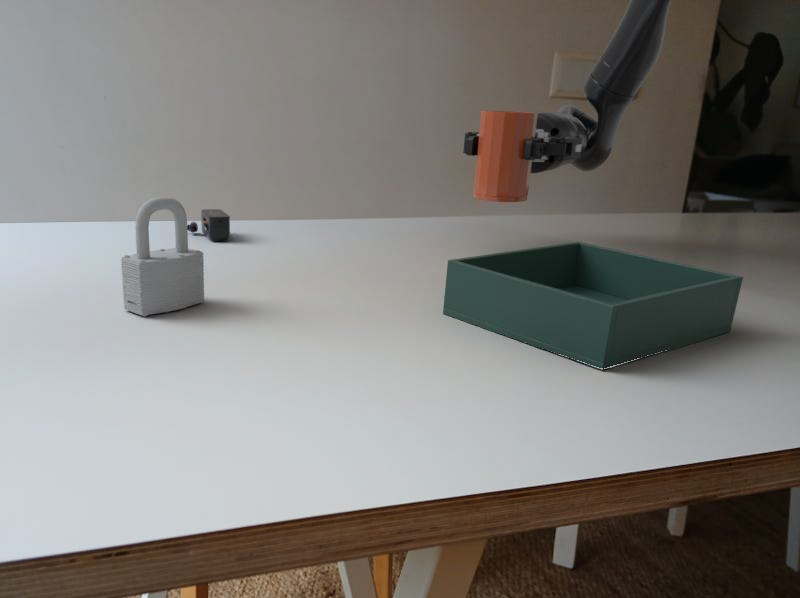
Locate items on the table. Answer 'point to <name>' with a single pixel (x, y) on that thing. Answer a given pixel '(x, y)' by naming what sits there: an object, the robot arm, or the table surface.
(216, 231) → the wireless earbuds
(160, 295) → the padlock
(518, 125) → the tumbler
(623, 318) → the tub
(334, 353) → the table surface
